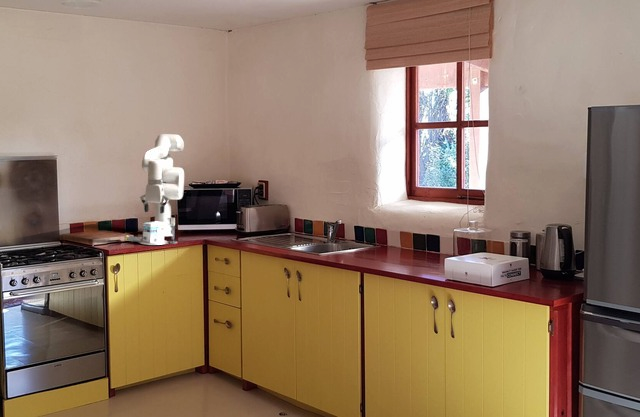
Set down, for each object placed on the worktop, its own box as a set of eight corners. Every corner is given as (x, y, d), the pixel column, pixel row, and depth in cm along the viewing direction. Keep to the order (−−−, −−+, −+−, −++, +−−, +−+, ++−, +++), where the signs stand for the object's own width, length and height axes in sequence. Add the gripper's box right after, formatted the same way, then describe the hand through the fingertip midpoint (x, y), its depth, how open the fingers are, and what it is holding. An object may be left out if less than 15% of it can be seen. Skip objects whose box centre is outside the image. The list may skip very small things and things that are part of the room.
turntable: (131, 239, 435) (131, 233, 435) (172, 242, 428) (172, 237, 428) (117, 242, 420) (117, 237, 419) (159, 246, 413) (159, 241, 413)
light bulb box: (150, 243, 417) (150, 223, 416) (142, 241, 420) (142, 222, 419) (164, 241, 425) (165, 222, 424) (156, 239, 429) (156, 221, 428)
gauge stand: (169, 242, 430) (169, 217, 428) (177, 243, 428) (177, 217, 427) (166, 243, 426) (166, 217, 425) (174, 244, 425) (174, 218, 423)
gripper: (171, 182, 420) (171, 212, 423) (144, 180, 425) (143, 210, 427) (165, 183, 413) (165, 214, 416) (137, 181, 418) (137, 212, 420)
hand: (154, 212), depth 421 cm, fingers open, 9 cm apart
